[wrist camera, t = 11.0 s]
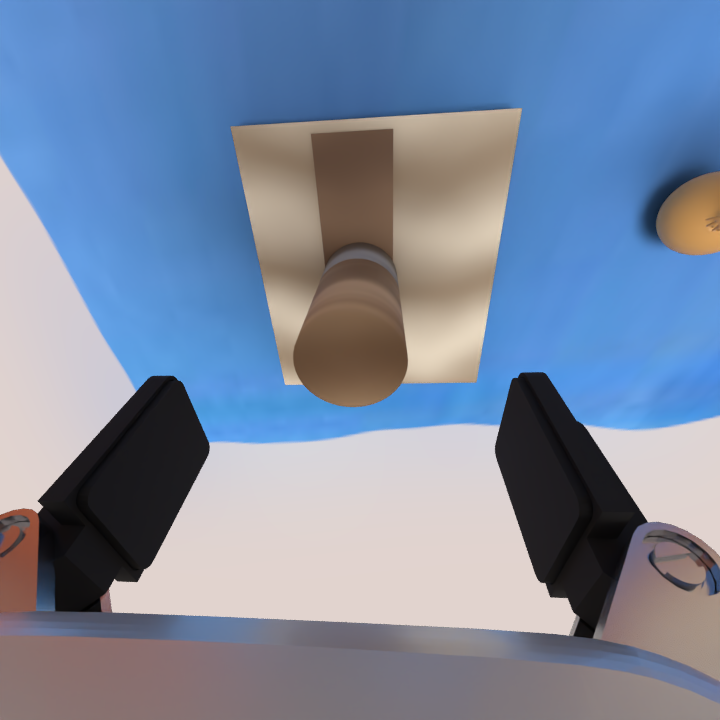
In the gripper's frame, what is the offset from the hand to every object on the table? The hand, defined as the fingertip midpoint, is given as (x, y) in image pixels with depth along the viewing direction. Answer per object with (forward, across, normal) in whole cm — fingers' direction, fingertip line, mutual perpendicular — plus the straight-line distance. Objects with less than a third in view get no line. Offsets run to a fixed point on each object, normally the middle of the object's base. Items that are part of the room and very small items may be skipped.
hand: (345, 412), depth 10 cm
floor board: (+14, -1, +1) cm, 14 cm away
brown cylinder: (+12, 0, +1) cm, 12 cm away
